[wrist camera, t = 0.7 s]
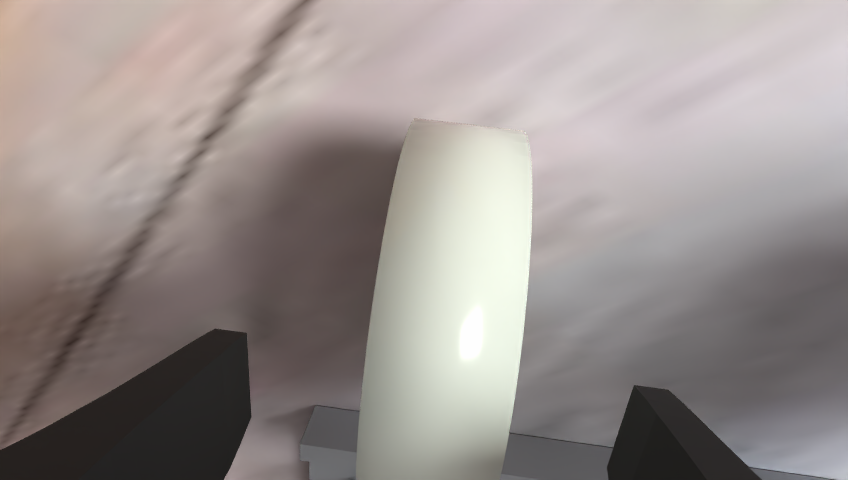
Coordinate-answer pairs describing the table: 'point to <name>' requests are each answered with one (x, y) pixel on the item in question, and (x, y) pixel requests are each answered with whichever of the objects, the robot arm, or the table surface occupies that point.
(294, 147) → the table surface
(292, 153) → the table surface
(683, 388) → the table surface
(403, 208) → the plate
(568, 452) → the dish rack
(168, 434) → the robot arm
